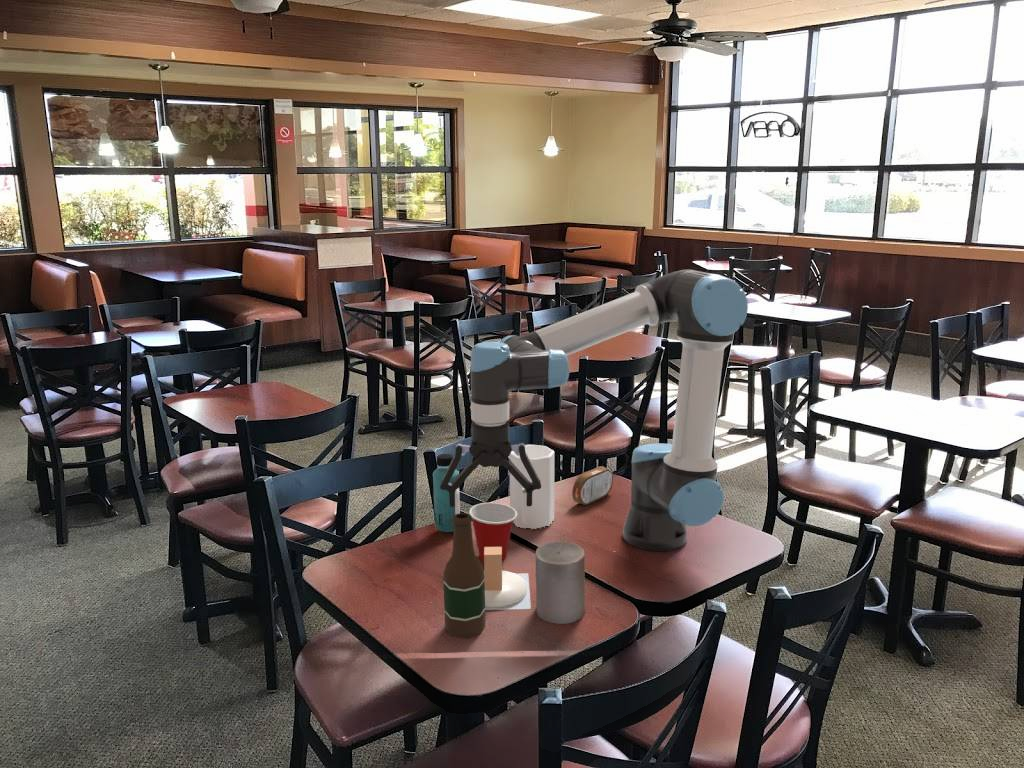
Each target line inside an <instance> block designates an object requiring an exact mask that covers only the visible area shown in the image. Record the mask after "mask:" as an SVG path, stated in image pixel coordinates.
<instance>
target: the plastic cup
mask: <svg viewBox="0 0 1024 768" xmlns="http://www.w3.org/2000/svg"><path fill="white" fill-rule="evenodd" d="M468 514H469V515H470V516H471V517H472V520H473V521H472V526H473V530H474V536H475V540H476V545H477V550H478V555H479V559H480V560H481V561H483V562H484V547H502V561H504V560H506V558H507V555H508V549H509V545H510V538H511V533H512V527H513V525H514V524H513V523H514V520H515V518H516V517H517V511H516V510H515V509H514V508H512V507H510V505H508V504H503V503H500V502H481V503H478V504H475V505H473V506H472V507H470V508H469V513H468Z"/></svg>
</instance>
